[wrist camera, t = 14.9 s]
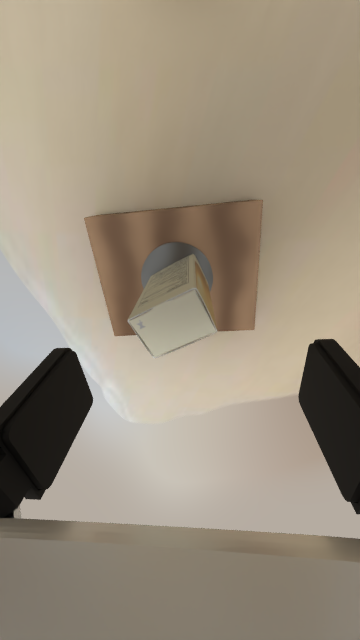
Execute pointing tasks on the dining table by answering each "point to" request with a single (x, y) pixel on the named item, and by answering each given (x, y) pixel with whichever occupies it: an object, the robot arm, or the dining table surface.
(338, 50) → the dining table surface
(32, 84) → the dining table surface
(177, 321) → the skincare box
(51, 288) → the dining table surface
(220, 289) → the walnut stand
